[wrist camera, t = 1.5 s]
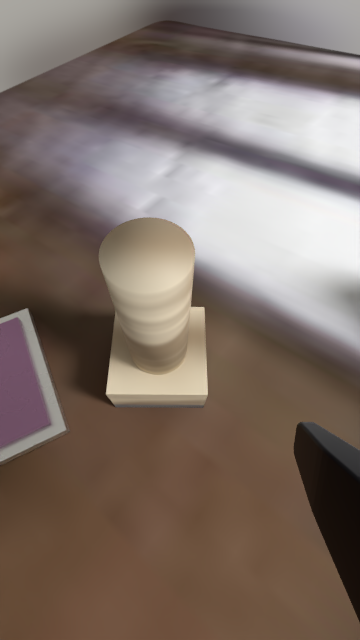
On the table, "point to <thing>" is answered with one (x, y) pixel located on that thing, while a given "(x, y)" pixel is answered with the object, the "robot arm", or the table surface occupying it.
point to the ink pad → (26, 390)
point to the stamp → (154, 317)
